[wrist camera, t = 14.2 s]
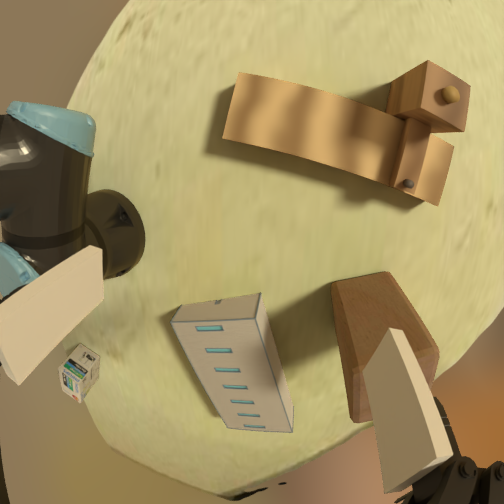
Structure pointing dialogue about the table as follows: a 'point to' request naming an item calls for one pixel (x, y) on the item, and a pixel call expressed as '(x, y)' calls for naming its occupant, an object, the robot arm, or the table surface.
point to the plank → (328, 131)
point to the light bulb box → (79, 372)
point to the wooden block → (375, 332)
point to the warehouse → (237, 362)
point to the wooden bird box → (424, 116)
